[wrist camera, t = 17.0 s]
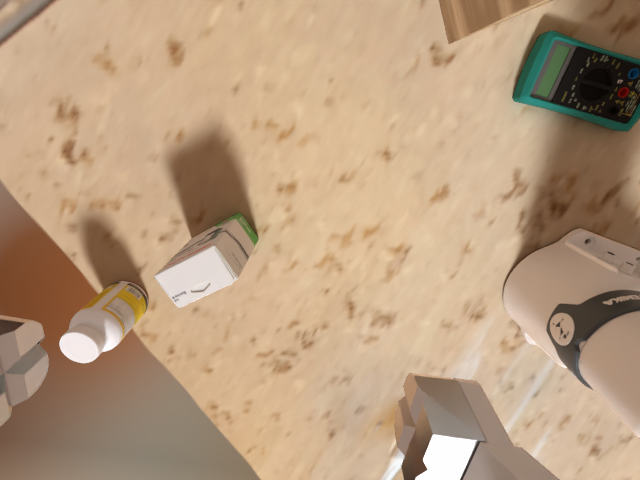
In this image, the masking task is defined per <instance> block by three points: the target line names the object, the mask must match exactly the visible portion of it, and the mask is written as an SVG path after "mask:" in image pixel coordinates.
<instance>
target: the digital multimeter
mask: <svg viewBox="0 0 640 480" xmlns="http://www.w3.org/2000/svg"><path fill="white" fill-rule="evenodd" d="M612 71H613V72H612ZM513 100H514V101H515V102H519V103H523V104H528V105H532V106H536V107H540V108H545V109H549V110H552V111H556V112H559V113H563V114H567V115H570V116H574V117H577V118H580V119H583V120H586V121H589V122H592V123H595V124H598V125H600V126H603V127H606V128H609V129H612V130H615V131H629V130H630V129H631V128H632V127H633V125H634V124H635V123H636V122H637V121H638V119H639V118H640V59H637V58H633V57H629V56H626V55H622V54H618V53H615V52H611V51H608V50H605V49H602V48H599V47H596V46H593V45H590V44H587V43H584V42H582V41H579V40H577V39H574V38H571V37H569V36H566V35H563V34H561V33H558V32H556V31H549V32H546V33H543V34H541V35H540V36H539V37H538V39H537V41H536V43H535V45H534V47H533V49H532V51H531V53H530V55H529V57H528V59H527V61H526V63H525V65H524V68H523V70H522V72H521V75H520V78H519V80H518V83H517V86H516V89H515V92H514V95H513ZM565 106H566V107H565ZM599 116H600V117H599ZM609 119H610V120H609ZM616 121H617V122H616Z"/></svg>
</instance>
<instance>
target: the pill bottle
mask: <svg viewBox="0 0 640 480" xmlns="http://www.w3.org/2000/svg"><path fill="white" fill-rule="evenodd" d="M147 308H148V298H147V295H146V293H145V292H144V291H143V290H142V289H141V288H140V287H139V286H138V285H136V284H134V283H131V282H128V281H118V282H115V283H113V284H111V285H109V286H108V287H107V288H106V289H105V290H103V291H102V292H101V293H100V294H99V295H97V296H96V297H95V298H94V299H93V300H91V301H90V302H89V303H88V304H87V305H86V306H85V307H83V308H82V309H81V310H80V311H79V312H78V313H76V314H75V316H74V317H73V318H72V320H71V322H70V327H69V328H70V329H69V330H68V331H67V332H66V333H65V334H64V335H63V336H62V337H61V339H60V342H59V343H60V344H59V345H60V349H61V351H62V352H63V354H64V355H65V356H66V357H68V358H69V359H71V360H73V361H75V362H79V363H88V362H91V361H93V360H95V359H96V358H97V357H98V356H99V355H100V353H101V352H105V351H108V350H111V349H113V348H114V347H115V346H116V345H118V343H119V342H120V341H121V340H122V339H123V338H124V337H125V335H126V334H127V333H128V332H129V331H130V330H131V328H132V327H133V326H134V325H135V324H136V322H137V321H138V320H139V319H140V318H141V317H142V315H143V314H144V313H145V312H146V310H147Z"/></svg>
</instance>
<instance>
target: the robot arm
mask: <svg viewBox="0 0 640 480" xmlns="http://www.w3.org/2000/svg"><path fill="white" fill-rule="evenodd" d="M586 239H587V241H586V242H585V240H586ZM503 302H504V306H505V309H506V311H507V313H508V315H509V316H510V317H511V318H512V319H513V320H514V321H515V322H516V323H517V324H518V325H519V327H520V329H521V333H522V336H523V338H524V339H525V340H526V341H527V342H528V343H529V344H532V345H538V346H539V347H541V348H542V349H543V350H544V351H545V352H546V353H547V354H548V355H549V356H550V357H551V358H552V359H553V360H554V361H556V362H557V363H558V364H559V365H560V366H562V367H564V368H566V367H567V369H568V370H569V371H570V372H571V373H572V374H573V376H575V377H576V378H577V379H578V380H580V381H581V382H582V383H583V384H584V385H585V386H587V387H589V388H590V389H592V390H594V391H595V392H596V393H597V394H598V395H599V396H600V397H601V398H602V400H603V401H604V402H605V403H606V404H607V405H608V406H609V407H610V408H611V409H612V410H613V411H614V413H615V414H616V415H617V416H618V417H619V418H620V419H621V420H622V421H623V422H624V423H625V424H626V425H627V427H628V428H629V429H630V430H631V431H632V432H633V433H634V434H635V435H636V436H637V437H638V438H639V439H640V251H639V250H637V249H634V248H632V247H629V246H626V245H624V244H621V243H618V242H616V241H613V240H611V239H608V238H605V237H603V236H600V235H597V234H595V233H592V232H590V231H587V230H584V229H580V228H579V229H575V230H573V231H571V232H569V233H568V234H567V235H565V236H564V237H563V238H562V239H560V240H559V241H558V242H556V243H554V244H552V245H549V246H546V247H544V248H541V249H539V250H537V251H535V252H533V253H532V254H530V255H529V256H527V257H526V258H524V259H523V260H522V261H521V262H520V263H519V264H518V265H517V266H516V267H515V268H514V270H513V271H512V272H511V274H510V276H509V277H508V279H507V282H506V284H505V287H504V293H503ZM43 338H44V333H43V328H42V324H39V323H38V322H36V321H33V320H26V319H20V318H13V317H8V316H1V315H0V426H1V425H2V424H3V423H4V422H5V421H6V420H7V419H8V418H9V417H10V416H11V409H12V406H14V405H16V404H18V403H20V402H22V401H24V400H26V399H28V398H29V397H30V396H31V395H32V394H33V393H34V392H35V391H36V390H37V389H38V388H39V387H40V385H41V383H42V382H43V380H44V378H45V376H46V374H47V370H48V364H49V361H48V355H47V353H46V352H45V351H44V349H43V348H42V347H41V346H40V345H39V343H40V342H41V341H42V340H43ZM403 387H404V391H405V395H406V396H405V397H404V398H402V399H401V400H399V401H398V405H397V409H396V412H395V424H394V427H395V437H396V443H397V447H398V448H399V449H400V450H401V452H402V453H403V454H404V455H405V457H404V460H403V463H402V466H401V468H402V472H403V477H404V480H559V479H558V478H557V477H556V476H555V475H553V474H552V473H551V472H550V471H549V470H548V469H546V468H545V467H544V466H543V465H542V464H540V463H539V462H538V461H537V460H536V459H534V458H533V457H532V456H531V455H530V454H529V453H527V452H526V451H525V450H524V449H523V448H520V447H514V445H513V443H512V441H511V440H510V438H509V436H508V434H507V432H506V431H505V429H504V427H503V425H502V423H501V422H500V420H499V418H498V416H497V414H496V412H495V411H494V409H493V407H492V405H491V403H490V402H489V400H488V398H487V396H486V394H485V392H484V391H483V389H482V387H481V385H480V384H479V383H478V382H476V381H473V380H464V379H456V378H453V379H451V378H444V377H437V376H429V375H422V374H414V373H409V374H408V376H407V377H406V380H405V383H404V386H403Z"/></svg>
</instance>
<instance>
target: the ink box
mask: <svg viewBox="0 0 640 480" xmlns="http://www.w3.org/2000/svg"><path fill="white" fill-rule="evenodd" d="M257 241H258V237H257V236H256V234H255V233H254V231H253V230H252V228H251V227H250V225H249V224H248V222H247V221H246V220H245V218H244V217H243V216H242V214H241V213H238V214H236V215H234V216H232V217H230V218H228V219H226V220H224V221H223V222H221V223H219V224H217V225H215V226H213V227H211V228H210V229H208V230H206V231H204V232H202V233H200V234H199V235H197V236H195V237H193V238H192V239H191V240H190V241H189V242H188V243H187V244H186V245H185V246H184V247H183V248H182V249H181V250H180V251H179V252H178V253H177V254H176V255H175V256H174V257H173V258H172V259H171V260H170V261H169V262H168V263H167V264H166V265H165V266H164V267H163V268H162V269H161V270H160V271H159V272H158V273H157V274H156V275H154V278H155V279H156V280H157V282H158V283H159V284H160V285H161V287H162V288H163V289H164V290H165V292H166V293H167V294H168V296H169V297H170V298H171V300H172V301H173V302H174V304H175V305H176V306H177V307H178V308H180V307H183V306H185V305H187V304H189V303H191V302H194V301H196V300H198V299H200V298H202V297H204V296H207V295H209V294H211V293H213V292H215V291H217V290H220V289H222V288H224V287H226V286H228V285H231V284H232V283H233V282H234V281H235V280H237V279H238V277H239V275H240V274H241V272H242V270H243V268H244V266H245V264H246V262H247V260H248V258H249V256H250V255H251V253H252V251H253V249H254V247H255V245H256V243H257Z"/></svg>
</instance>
